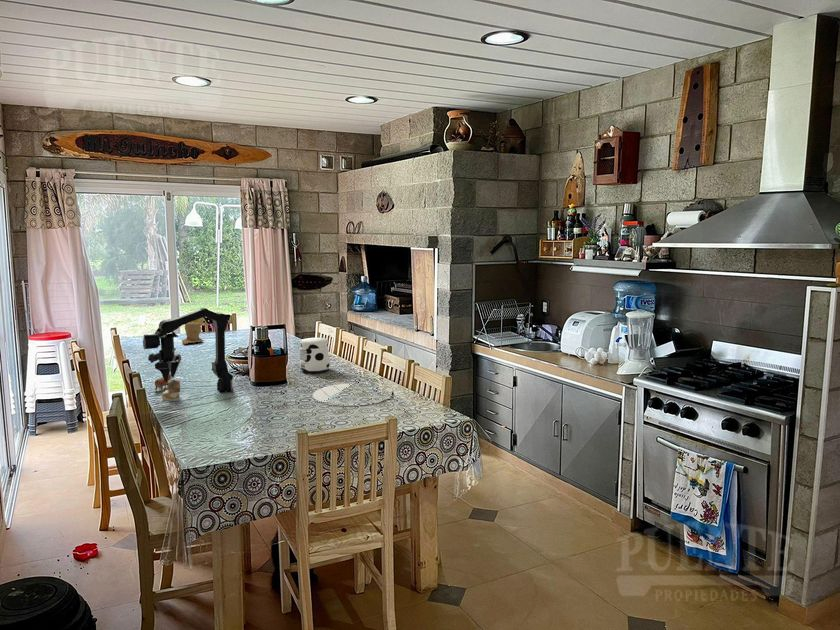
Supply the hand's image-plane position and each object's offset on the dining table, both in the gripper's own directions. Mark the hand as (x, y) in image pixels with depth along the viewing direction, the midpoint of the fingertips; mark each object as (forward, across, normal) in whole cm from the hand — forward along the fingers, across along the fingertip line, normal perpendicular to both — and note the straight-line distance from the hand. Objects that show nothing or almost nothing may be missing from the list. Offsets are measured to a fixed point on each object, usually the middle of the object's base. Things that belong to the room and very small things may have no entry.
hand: (169, 379), depth 289 cm
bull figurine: (+10, -17, -9) cm, 22 cm away
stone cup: (+10, -146, -36) cm, 151 cm away
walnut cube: (+6, -1, +2) cm, 6 cm away
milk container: (+10, -55, +62) cm, 84 cm away
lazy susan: (+10, -3, +87) cm, 88 cm away
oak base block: (+9, 0, 0) cm, 9 cm away
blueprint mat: (+10, 0, +2) cm, 10 cm away
